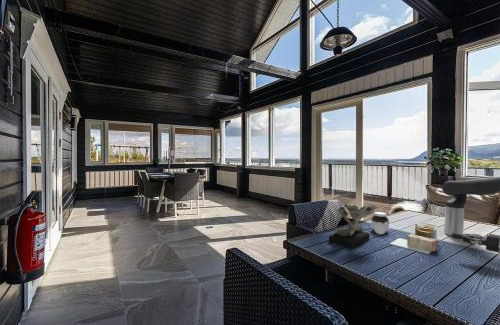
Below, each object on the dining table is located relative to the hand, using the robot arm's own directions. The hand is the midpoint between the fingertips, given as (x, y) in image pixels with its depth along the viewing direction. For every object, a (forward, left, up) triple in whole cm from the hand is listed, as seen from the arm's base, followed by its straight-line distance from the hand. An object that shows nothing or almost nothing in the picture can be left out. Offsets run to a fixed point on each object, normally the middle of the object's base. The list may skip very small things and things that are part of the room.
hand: (452, 235), depth 128 cm
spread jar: (-12, -39, -10) cm, 42 cm away
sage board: (0, -17, -10) cm, 20 cm away
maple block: (0, -7, -7) cm, 10 cm away
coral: (+17, -40, -10) cm, 45 cm away
